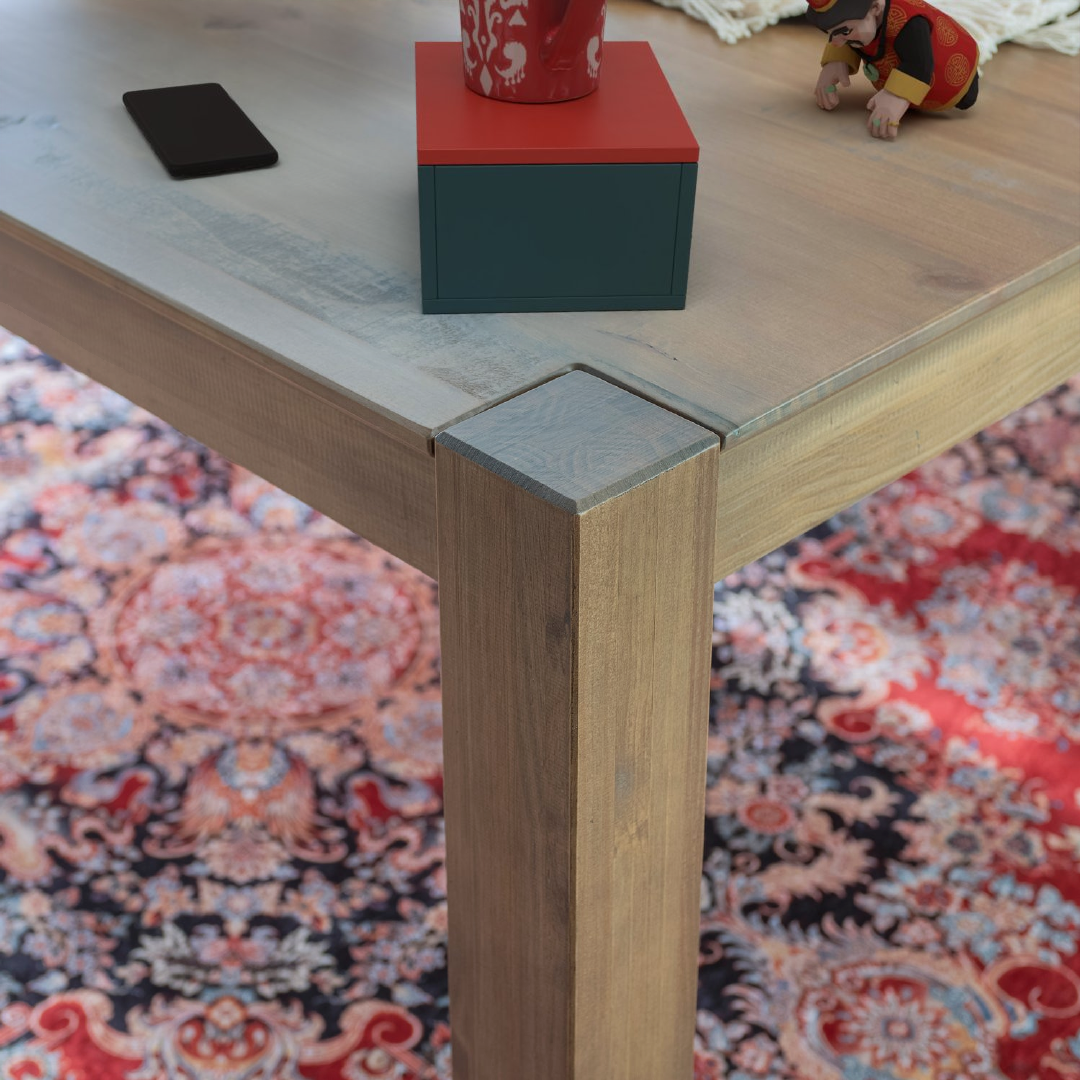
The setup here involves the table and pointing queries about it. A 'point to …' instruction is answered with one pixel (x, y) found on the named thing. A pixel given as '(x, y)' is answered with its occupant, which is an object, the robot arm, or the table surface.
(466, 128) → the lid
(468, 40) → the mug
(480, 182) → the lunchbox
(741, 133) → the table surface
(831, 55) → the figurine
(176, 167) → the smartphone
